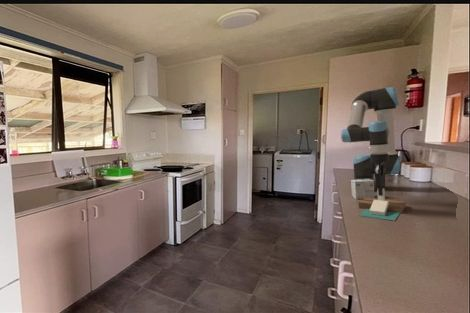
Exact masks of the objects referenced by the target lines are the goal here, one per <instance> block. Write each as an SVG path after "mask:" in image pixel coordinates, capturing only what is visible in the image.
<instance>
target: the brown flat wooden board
mask: <svg viewBox="0 0 470 313" xmlns="http://www.w3.org/2000/svg"><path fill="white" fill-rule="evenodd" d="M374 200H378V197H377V198H376V197H375V198H369V197H365V198H364V199H360V201H358V209H364V210H365V209H370V208H371V205H372V203H373V201H374ZM385 201H388V204H389V205H388V208H387V211H390V212H398V213H400V214H402V213H403V212H404V210H405V208H406V207H407V206H406V204H407V203H406V200H403V199H402V200H399V199H392V198H391V199H389V198H385Z"/></svg>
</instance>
